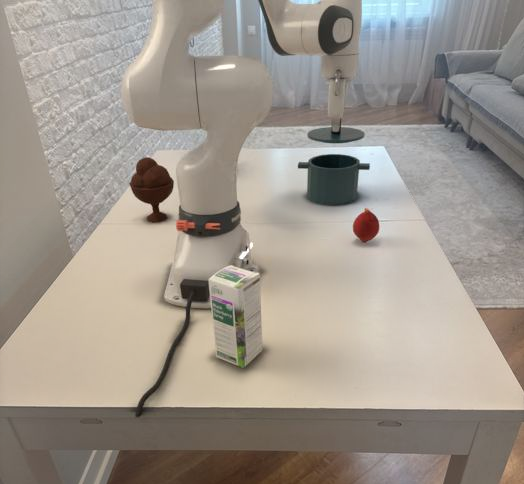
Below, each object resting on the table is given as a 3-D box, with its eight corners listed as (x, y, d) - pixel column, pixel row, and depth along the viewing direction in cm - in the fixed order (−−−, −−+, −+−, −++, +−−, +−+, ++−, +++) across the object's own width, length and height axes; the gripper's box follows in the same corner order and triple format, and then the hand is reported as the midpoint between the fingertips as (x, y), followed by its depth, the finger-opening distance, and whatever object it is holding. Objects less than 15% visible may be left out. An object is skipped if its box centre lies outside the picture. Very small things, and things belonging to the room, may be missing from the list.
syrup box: (214, 357, 80) (205, 278, 71) (236, 339, 83) (230, 262, 75) (243, 369, 77) (237, 289, 68) (264, 350, 81) (261, 271, 72)
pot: (366, 206, 130) (370, 170, 124) (295, 204, 133) (295, 168, 127) (366, 189, 140) (369, 154, 135) (300, 187, 143) (300, 153, 137)
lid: (364, 145, 120) (365, 125, 117) (304, 145, 122) (305, 124, 119) (364, 131, 132) (366, 112, 129) (310, 131, 134) (310, 112, 131)
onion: (376, 237, 114) (380, 203, 110) (378, 247, 110) (382, 213, 105) (351, 236, 115) (353, 203, 110) (352, 247, 110) (355, 213, 106)
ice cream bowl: (128, 225, 125) (116, 164, 115) (149, 209, 133) (139, 151, 124) (166, 229, 122) (156, 167, 113) (184, 212, 130) (177, 153, 121)
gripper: (351, 73, 109) (347, 139, 117) (353, 62, 125) (349, 120, 133) (323, 73, 110) (320, 139, 118) (328, 62, 126) (326, 120, 134)
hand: (336, 129), depth 126 cm, fingers closed on lid, 2 cm apart
